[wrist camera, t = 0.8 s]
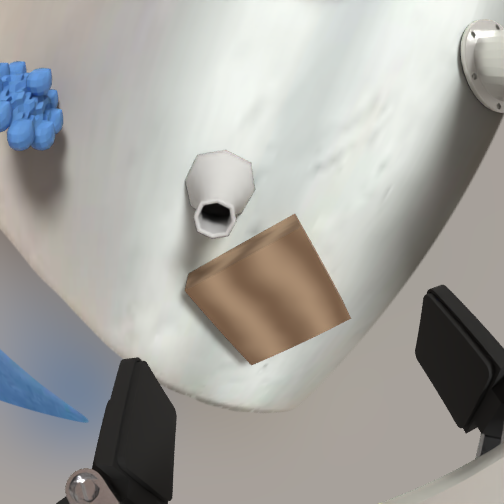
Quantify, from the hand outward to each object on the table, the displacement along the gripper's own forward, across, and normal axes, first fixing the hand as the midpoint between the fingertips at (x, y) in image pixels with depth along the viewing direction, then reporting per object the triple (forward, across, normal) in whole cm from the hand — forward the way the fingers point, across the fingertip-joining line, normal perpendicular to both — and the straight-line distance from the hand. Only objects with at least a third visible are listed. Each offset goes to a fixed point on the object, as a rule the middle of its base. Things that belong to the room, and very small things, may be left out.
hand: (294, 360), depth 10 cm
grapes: (+26, +17, -15) cm, 34 cm away
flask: (+26, +2, 0) cm, 26 cm away
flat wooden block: (+26, 0, +14) cm, 29 cm away
